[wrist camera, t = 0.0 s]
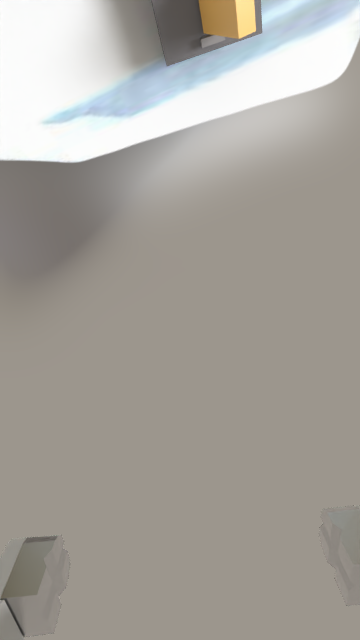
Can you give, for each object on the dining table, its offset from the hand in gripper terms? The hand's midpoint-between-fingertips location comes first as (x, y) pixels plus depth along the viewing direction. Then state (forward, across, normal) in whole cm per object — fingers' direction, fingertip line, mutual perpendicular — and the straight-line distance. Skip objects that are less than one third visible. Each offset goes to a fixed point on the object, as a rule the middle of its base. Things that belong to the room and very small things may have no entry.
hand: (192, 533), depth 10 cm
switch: (+40, -7, -29) cm, 50 cm away
